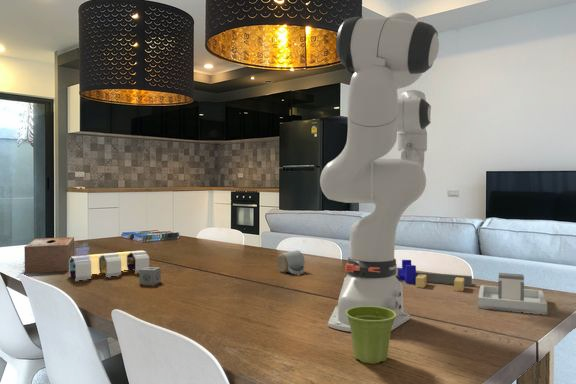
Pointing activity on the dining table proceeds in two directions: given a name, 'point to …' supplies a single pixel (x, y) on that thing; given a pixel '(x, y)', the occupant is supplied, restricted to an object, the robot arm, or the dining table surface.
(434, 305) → the dining table surface
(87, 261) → the multicoloured piece
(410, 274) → the cable clip
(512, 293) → the grey rectangular box
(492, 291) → the parts tray
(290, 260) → the ceramic mug
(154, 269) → the dice cube
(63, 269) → the tissue box cover
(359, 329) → the plant pot
